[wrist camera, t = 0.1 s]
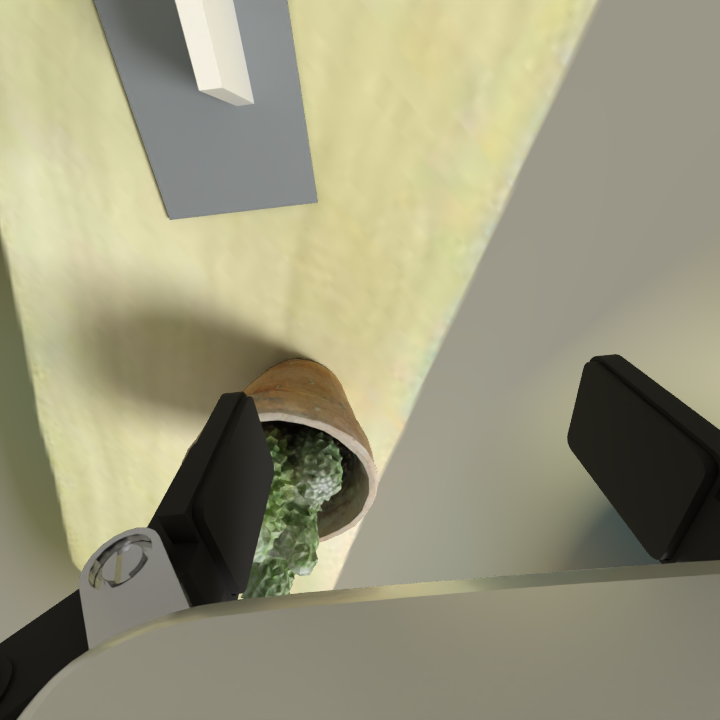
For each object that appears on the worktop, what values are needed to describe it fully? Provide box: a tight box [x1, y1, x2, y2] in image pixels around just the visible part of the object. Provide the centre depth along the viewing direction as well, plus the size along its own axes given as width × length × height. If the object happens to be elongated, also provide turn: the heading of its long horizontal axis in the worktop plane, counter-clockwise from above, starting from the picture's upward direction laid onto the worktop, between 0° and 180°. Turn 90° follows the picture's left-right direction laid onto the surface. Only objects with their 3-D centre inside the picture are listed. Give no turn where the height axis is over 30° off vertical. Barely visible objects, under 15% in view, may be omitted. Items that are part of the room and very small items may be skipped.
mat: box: [94, 0, 318, 220], centre depth 31 cm, size 22×15×1 cm
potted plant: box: [182, 358, 379, 599], centre depth 37 cm, size 18×19×25 cm
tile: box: [175, 0, 254, 106], centre depth 26 cm, size 7×2×9 cm, turn 6°
